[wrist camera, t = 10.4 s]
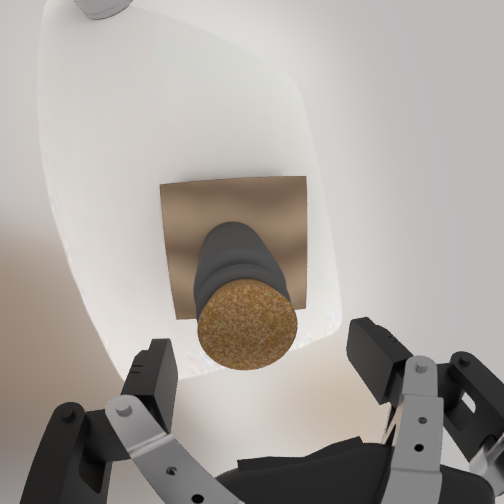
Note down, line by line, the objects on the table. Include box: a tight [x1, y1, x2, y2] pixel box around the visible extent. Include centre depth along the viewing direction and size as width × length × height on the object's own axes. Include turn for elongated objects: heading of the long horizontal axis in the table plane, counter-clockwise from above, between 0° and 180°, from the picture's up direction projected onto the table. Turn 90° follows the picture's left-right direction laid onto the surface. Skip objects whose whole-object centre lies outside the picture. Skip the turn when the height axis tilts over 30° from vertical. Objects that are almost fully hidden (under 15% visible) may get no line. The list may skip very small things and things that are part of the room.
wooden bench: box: [160, 176, 307, 320], centre depth 31 cm, size 14×14×9 cm
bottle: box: [193, 222, 297, 370], centre depth 20 cm, size 6×6×15 cm
